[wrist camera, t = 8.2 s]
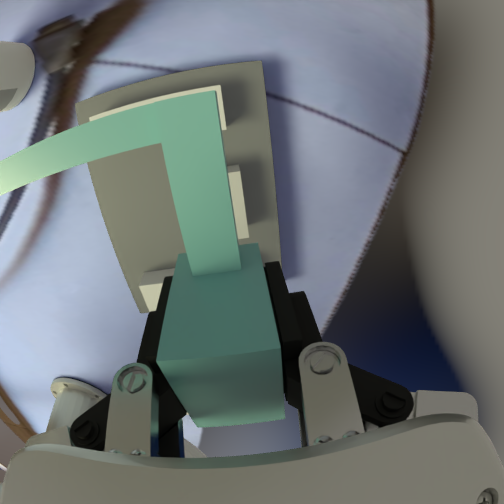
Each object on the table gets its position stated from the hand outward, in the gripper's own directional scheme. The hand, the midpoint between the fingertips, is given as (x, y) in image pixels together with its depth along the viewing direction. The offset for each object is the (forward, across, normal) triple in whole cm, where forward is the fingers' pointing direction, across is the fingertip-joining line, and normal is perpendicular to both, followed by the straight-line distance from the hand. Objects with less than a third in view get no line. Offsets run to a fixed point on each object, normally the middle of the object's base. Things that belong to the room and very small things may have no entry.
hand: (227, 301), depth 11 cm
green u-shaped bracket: (+1, +3, 0) cm, 3 cm away
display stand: (+14, +3, 0) cm, 14 cm away
